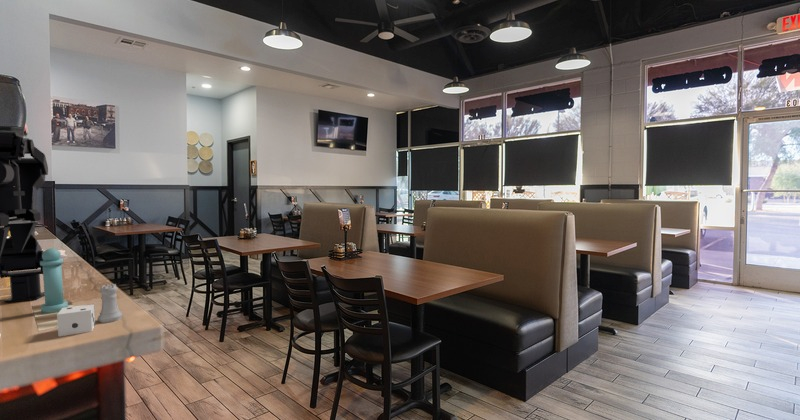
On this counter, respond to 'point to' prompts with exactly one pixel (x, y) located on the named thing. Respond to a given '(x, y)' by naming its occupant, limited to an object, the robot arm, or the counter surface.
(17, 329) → the counter surface
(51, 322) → the board
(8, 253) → the robot arm
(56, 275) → the pawn
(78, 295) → the counter surface
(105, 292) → the rook chess piece
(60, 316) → the die
